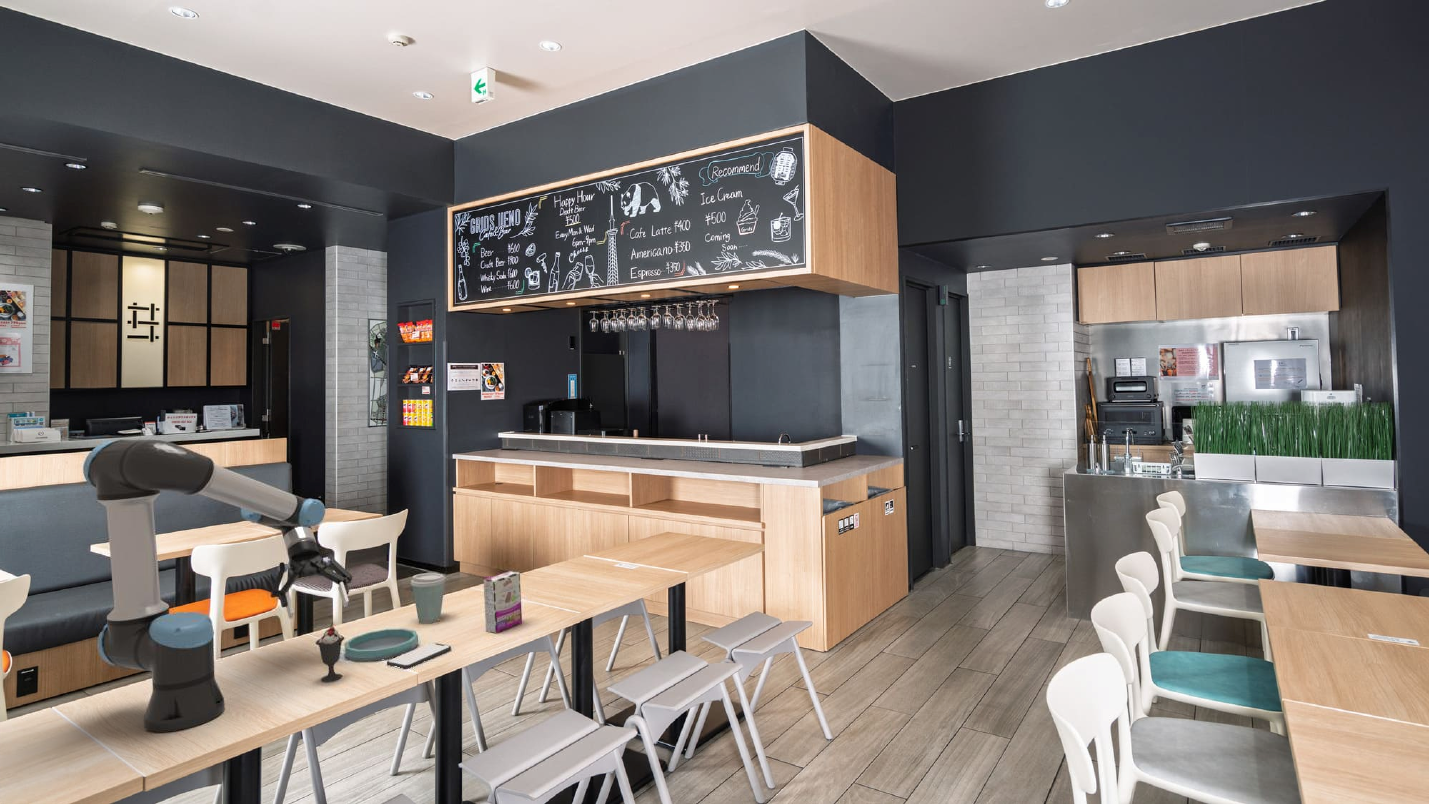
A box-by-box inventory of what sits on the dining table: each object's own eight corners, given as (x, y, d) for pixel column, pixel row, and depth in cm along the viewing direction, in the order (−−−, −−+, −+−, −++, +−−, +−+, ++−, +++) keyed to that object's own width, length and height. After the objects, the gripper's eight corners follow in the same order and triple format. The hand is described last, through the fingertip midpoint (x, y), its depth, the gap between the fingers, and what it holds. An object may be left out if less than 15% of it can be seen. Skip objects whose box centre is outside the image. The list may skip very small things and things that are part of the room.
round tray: (373, 666, 199) (373, 655, 199) (330, 655, 208) (330, 645, 208) (431, 644, 215) (431, 634, 215) (389, 635, 225) (389, 625, 225)
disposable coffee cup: (438, 613, 246) (437, 569, 246) (452, 620, 238) (451, 574, 238) (406, 621, 239) (405, 575, 238) (420, 628, 231) (418, 580, 231)
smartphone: (406, 672, 196) (453, 651, 210) (406, 666, 196) (453, 645, 210) (384, 667, 200) (431, 647, 214) (384, 661, 200) (431, 641, 214)
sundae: (334, 684, 187) (332, 625, 187) (311, 682, 188) (309, 624, 188) (351, 674, 194) (349, 617, 193) (329, 672, 195) (327, 616, 195)
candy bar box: (511, 621, 235) (509, 570, 235) (522, 623, 233) (521, 572, 233) (484, 631, 226) (482, 578, 225) (496, 634, 223) (494, 580, 223)
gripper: (345, 547, 219) (364, 607, 209) (249, 563, 202) (264, 628, 192) (351, 532, 215) (370, 592, 205) (253, 546, 198) (269, 612, 188)
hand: (319, 609), depth 198 cm, fingers open, 13 cm apart
